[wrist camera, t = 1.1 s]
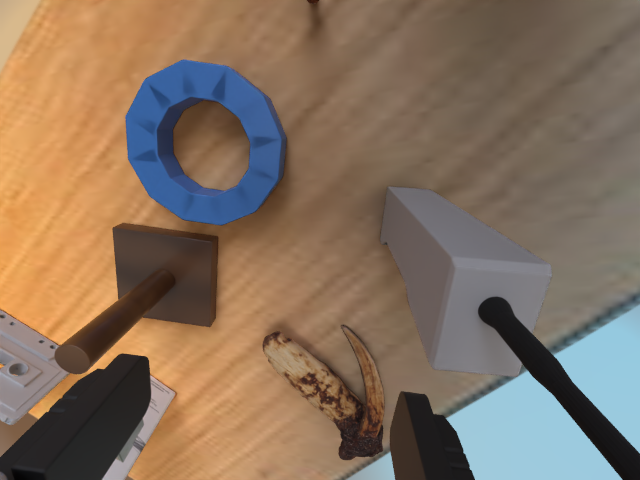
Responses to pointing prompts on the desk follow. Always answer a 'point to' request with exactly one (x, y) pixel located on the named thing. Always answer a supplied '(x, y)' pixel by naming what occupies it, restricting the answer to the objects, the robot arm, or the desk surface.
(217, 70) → the tape roll
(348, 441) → the lashed bone hook
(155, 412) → the ink box
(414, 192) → the vintage mobile phone
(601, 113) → the desk surface
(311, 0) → the magnifying glass
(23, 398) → the cassette
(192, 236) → the peg stand
